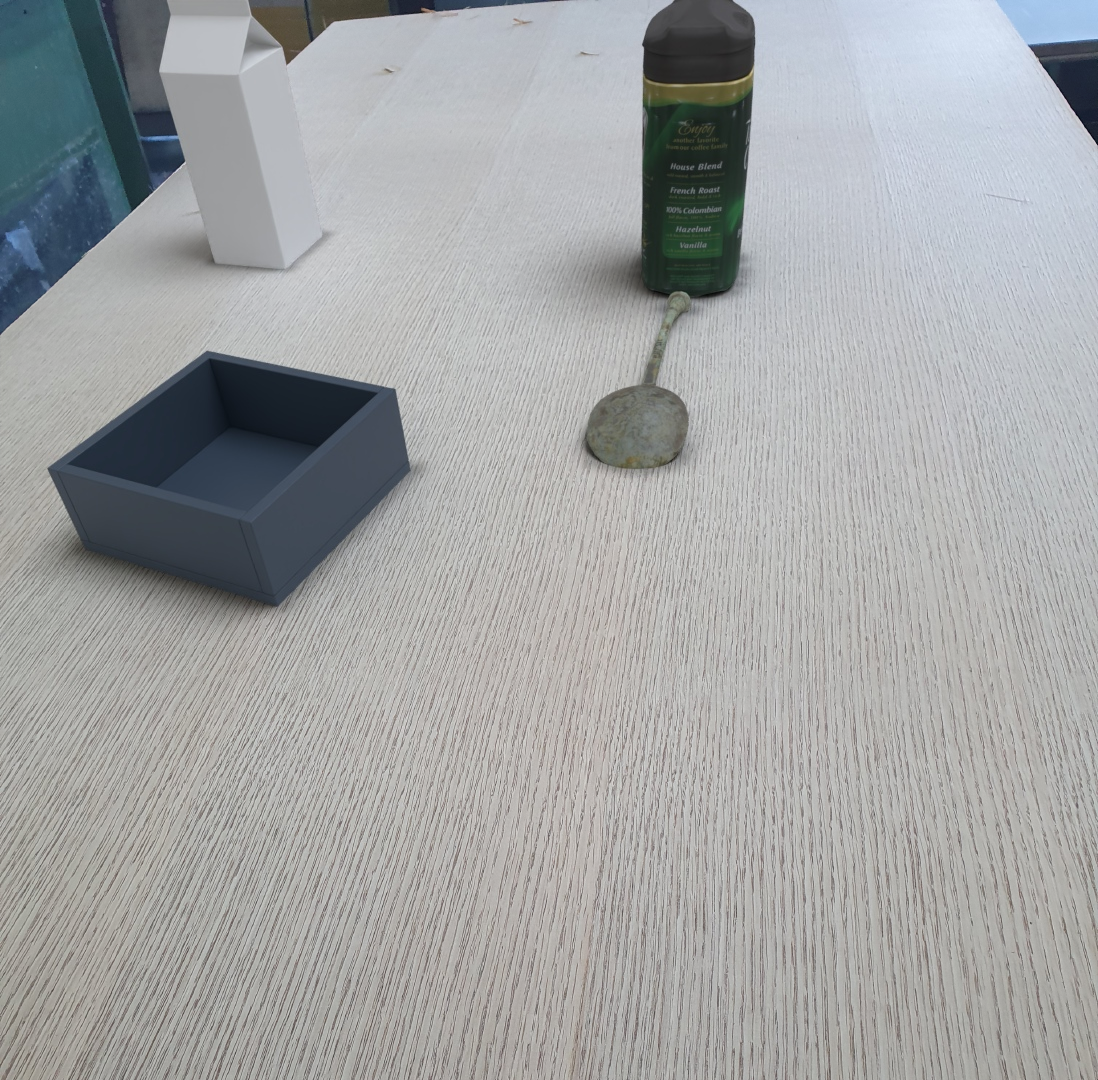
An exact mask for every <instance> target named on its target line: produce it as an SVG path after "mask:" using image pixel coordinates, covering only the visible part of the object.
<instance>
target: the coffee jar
mask: <svg viewBox="0 0 1098 1080" xmlns="http://www.w3.org/2000/svg"><path fill="white" fill-rule="evenodd" d="M641 47H643V56H642V57H643V59H642V114H641V115H642V120H641V121H642V122H641V123H642V126H641V127H642V129H641V131H642V132H641V134H642V137H641V149H642V150H641V152H642V153H641V199H642V200H641V235H640V239H641V241H640V242H641V243H640V244H641V245H640V247H641V248H640V249H641V251H640V253H641V254H640V259H641V261H640V263H641V265H640V267H641V268H640V269H641V272H640V273H641V278H642V282H643V284H644V285H645V286H646V287H647V289H649V290H651V291H656V292H660V293H663V294H667V295H671V294H672V293H674V292H685V293H687V294H688V296H689V297H690V298H694V297H702V296H705V295H708V294H709V295H710V294H714V293H718V292H724V291H727V290H728V289H729V288H731V287H732V286H733V284H734V283H735V282H736V280H737V277H738V273H739V270H740V263H741V262H740V261H741V250H742V243H743V242H742V240H743V229H744V228H743V226H744V214H745V213H744V212H745V201H746V191H747V179H748V169H749V156H750V145H751V143H750V142H751V130H752V129H751V127H752V115H753V99H754V97H753V96H754V76H755V63H756V62H755V60H756V59H755V57H756V56H755V51H756V50H755V49H756V24H755V20H754V17H753V15H752V14H751V12H749V11H747V9H745V8H744V7H742V6H741V5H740V4H738V3H737V2H735V1H734V0H673V1H672V2H671V3H670V4H669V5H667V6H665V7H663V8H662V9H661V10H659V11H658V12H657V13H655V15H653V16H652V17H651V20H650V21H649V22H648V25H647V26H646V30H645V33H644V36H643V40H642V43H641Z"/></svg>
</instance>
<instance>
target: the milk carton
mask: <svg viewBox="0 0 1098 1080" xmlns="http://www.w3.org/2000/svg"><path fill="white" fill-rule="evenodd" d="M166 3H167V5H168V11H169V14H170V16H169V21H168V26H167V32H166V35H165V39H164V40H165V41H164V45H163V51H162V55H161V60H160V65H159V69H158V72H159V76H160V79H161V82H162V86H163V89H164V92H165V96H166V99H167V104H168V106H169V110H170V114H171V117H172V119H173V123H174V127H175V131H176V133H177V137H178V138H177V139H178V141H179V144H180V147H181V151H182V153H183V154H182V155H183V158H184V161H185V165H186V169H187V171H188V175H189V178H190V182H191V186H192V189H193V192H194V195H195V199H196V203H197V206H198V209H199V213H200V216H201V220H202V223H203V227H204V230H205V233H206V237H207V241H208V244H209V247H210V251H211V254H212V257H213V261H214V263H215V264H219V265H229V266H240V267H252V268H264V269H275V270H286V269H288V268H289V267H290V266H292V264H293V263H295V262H296V260H298V259H299V258H300V257H301V256H302V255H304V253H305V252H307V251H308V250H309V249H310V248H311V247H312V246H313V245H315V243H316V242H318V241H319V240H320V239H321V238H322V237H323V231H322V225H321V221H320V217H319V216H320V215H319V212H318V206H317V202H316V196H315V193H314V188H313V183H312V179H311V174H310V170H309V164H308V160H307V155H306V150H305V146H304V145H305V144H304V141H303V136H302V131H301V127H300V123H299V117H298V112H297V107H296V103H295V99H294V95H293V94H294V93H293V90H292V84H291V80H290V76H289V71H288V65H287V62H286V57H285V53H284V49H283V48H284V47H283V45H281V43H280V42H279V41H278V40H276V38H275V37H273V35H272V34H271V33H270V32H269V31H268V30H267V29H266V28H265V27H264V26H263V25H262V24H261V23H260V21H259V22H258V20H257V19H256V18H255V16H253V15H252V11H251V7H250V3H249V0H166Z"/></svg>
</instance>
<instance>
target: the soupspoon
mask: <svg viewBox="0 0 1098 1080" xmlns="http://www.w3.org/2000/svg"><path fill="white" fill-rule="evenodd" d="M691 305H692V301H691V297H689V296H688V294H687V293H685V292H674V293H672V294H669V296H668V298H667V306H668V308H667V310H666V312H665V313H666V316H665V317H664V319H663V321H662V324H661V326H660V328H659V332H658V334H657V337H656V339H655V343H654V346H653V349H652V352H651V355H650V357H649V359H648V362H647V365H646V368H645V371H644V374H643V378H642V381H641V384H636V385H630V386H627V387H623V388H620V389H617V390H615V391H612V392H611V393H609V394H607V395H605V396H604V397H602V398H601V399H600V400H599V401H598V402H597V403H596V404H595V405H594V407H593V408H592V410H591V412H590V414H589V416H588V420H587V426H586V435H585V436H586V441H587V445H588V446H589V448H590V449H591V451H592V452H593V454H594V456H595V457H597V458H598V459H599V461H600V462H602V463H604V464H605V465H607V466H610V467H614V468H619V469H624V470H625V469H627V470H646V469H647V470H648V469H655V468H660V467H664V466H665V465H666V464H668V463H670V462H671V461H672V460H673V459H674V458H675V457H676V456H677V455H678V454H679V452H680V451H681V450H682V448H683V446H684V443H685V441H686V438H687V436H688V431H689V426H690V425H689V424H690V418H689V412H688V409H687V407H686V404H685V402H684V401H683V400H682V398H681V397H680V396H679V395H678V394H677V393H675V392H674V391H671V390H669V389H667V388H665V387H662V386H657V381H658V376H659V372H660V367H661V364H662V360H663V356H664V353H665V349H666V345H667V343H668V338H669V335H670V332H671V329H672V326H673V323H674V320H676V319H677V318H678V317H679V315H680V314H681V313H687V312H688V311H689V310H690V308H691Z"/></svg>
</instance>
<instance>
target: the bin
mask: <svg viewBox="0 0 1098 1080" xmlns="http://www.w3.org/2000/svg"><path fill="white" fill-rule="evenodd" d="M398 400H399V399H398V394H397V390H396V388H393V387H388V386H384V385H380V384H374V383H370V382H364V381H359V380H354V379H349V378H345V377H340V376H336V375H335V376H334V375H330V374H324V373H319V372H315V371H309V370H305V369H300V368H294V367H291V366H290V367H289V366H285V365H281V364H275V363H270V362H265V361H261V360H255V359H250V358H246V357H245V358H244V357H240V356H236V355H231V354H227V353H221V352H216V351H212V350H206V351H204V352H202V354H201V355H199V356H197V358H195V359H193V360H192V361H191V362H189V363H188V364H187V365H185V366H183V368H181V369H180V370H178V371H177V372H175V373H174V374H173V375H172V376H170V377H169V378H168V379H166V380H165V381H163V382H162V383H161V384H160V385H158V386H157V387H155V388H154V389H153V390H151V391H150V392H149V393H147V394H146V395H145V396H143V397H142V398H141V399H139V400H138V401H136V402H135V403H133V404H132V405H131V406H130V407H128V408H127V409H125V410H124V411H123V412H122V413H120V414H118V415H117V416H116V417H114V418H113V419H112V420H110V421H109V422H108V423H106V424H105V425H104V426H102V427H101V428H100V429H98V430H97V431H95V432H94V433H92V434H91V435H90V436H88V437H87V438H86V439H84V440H83V441H82V442H80V443H79V444H78V445H76V446H75V447H74V448H72V449H71V450H69V451H68V452H67V453H66V454H64V455H63V456H61V457H60V458H59V459H57V460H56V461H54V463H52V464H50V465H49V466H47V471H48V473H49V476H50V478H51V480H52V482H53V484H54V486H55V488H56V491H57V493H58V495H59V498H60V499H61V501H62V504H63V505H64V508H65V510H66V512H67V514H68V516H69V518H70V520H71V523H72V525H73V527H74V529H75V531H76V533H77V535H78V537H79V539H80V541H81V544H82V546H83V548H84V550H86V551H89V552H92V553H96V554H99V555H103V556H106V557H109V558H112V559H116V560H119V561H122V562H126V563H130V564H133V565H136V566H139V567H142V568H146V569H149V570H153V571H155V572H160V573H162V574H166V575H168V576H169V575H170V576H173V577H176V578H180V579H183V580H185V581H186V580H187V581H190V582H193V583H195V584H199V585H203V586H206V587H210V588H213V589H215V590H220V591H223V592H226V593H230V594H234V595H236V596H240V597H243V598H247V599H249V600H254V601H256V602H260V603H262V604H263V603H264V604H267V605H269V606H273V607H280V605H281V604H282V603H283V602H284V601H285V600H286V599H287V598H288V597H289V596H290V595H291V594H292V593H293V592H294V591H295V590H296V589H297V588H298V587H299V586H300V585H301V584H302V583H303V582H304V581H305V580H306V579H307V577H309V576H310V575H311V574H312V573H313V571H314V570H315V569H316V568H317V567H318V566H319V565H320V564H321V563H322V562H323V561H324V560H326V558H327V557H328V556H329V555H330V554H332V552H333V551H334V550H335V549H336V548H337V547H338V546H339V545H340V544H341V543H342V541H344V540H345V539H346V537H348V536H349V535H350V534H351V533H352V531H354V529H355V528H356V527H357V526H359V525H360V524H361V522H362V521H363V520H364V519H365V518H367V516H368V515H369V514H370V513H371V512H372V511H373V510H374V509H375V508H376V507H377V506H378V505H379V504H380V503H381V502H382V501H383V499H385V498H386V497H387V495H389V494H390V493H391V492H392V491H393V489H394V488H396V486H397V485H398V484H399V483H400V482H401V481H402V480H404V478H405V477H406V476H407V475H408V474H409V473H410V472H411V471H412V470H411V466H410V465H411V464H410V460H409V455H408V454H409V453H408V449H407V444H406V437H405V432H404V427H403V421H402V416H401V411H400V406H399V405H400V404H399V401H398Z"/></svg>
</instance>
